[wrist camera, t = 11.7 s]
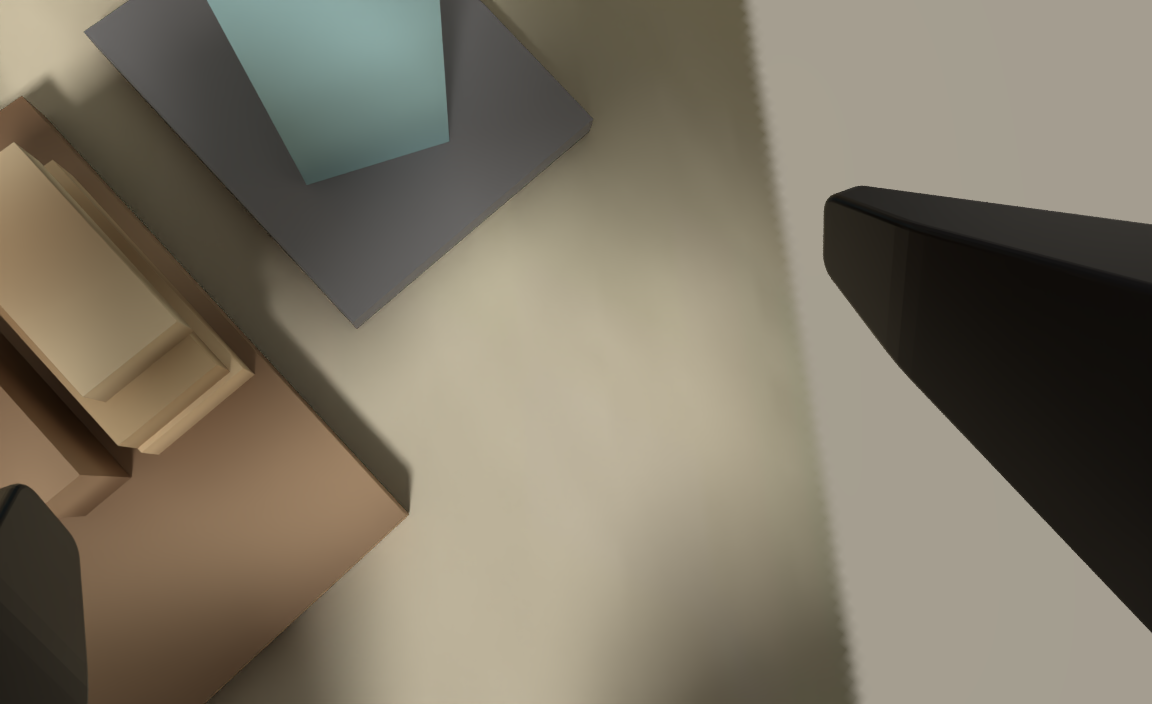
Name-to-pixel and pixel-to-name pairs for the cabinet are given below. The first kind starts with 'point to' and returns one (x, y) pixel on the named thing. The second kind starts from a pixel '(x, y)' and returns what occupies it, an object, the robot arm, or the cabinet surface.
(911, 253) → the robot arm
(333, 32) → the teal rectangular block
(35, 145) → the rack
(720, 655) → the cabinet surface
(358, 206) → the mat
